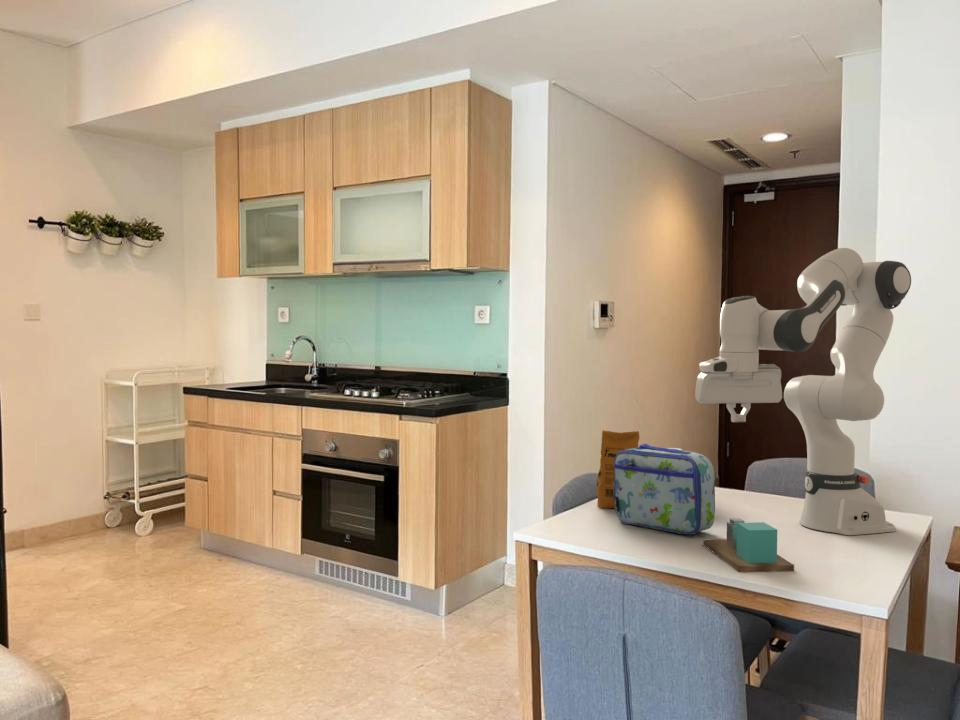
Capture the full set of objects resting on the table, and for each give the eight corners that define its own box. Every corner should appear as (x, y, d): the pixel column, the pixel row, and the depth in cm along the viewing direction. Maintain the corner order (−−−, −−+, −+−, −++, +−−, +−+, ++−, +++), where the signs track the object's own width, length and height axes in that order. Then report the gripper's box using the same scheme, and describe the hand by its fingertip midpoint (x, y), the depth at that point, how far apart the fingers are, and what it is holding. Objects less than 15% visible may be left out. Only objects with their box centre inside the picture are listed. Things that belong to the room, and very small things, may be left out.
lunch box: (607, 521, 197) (608, 443, 196) (631, 515, 204) (631, 439, 203) (695, 542, 178) (696, 455, 177) (718, 533, 185) (719, 450, 184)
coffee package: (597, 501, 221) (598, 427, 220) (640, 503, 218) (641, 429, 217) (595, 508, 211) (595, 432, 210) (639, 511, 208) (640, 433, 207)
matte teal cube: (763, 554, 164) (764, 522, 164) (776, 562, 158) (777, 529, 158) (736, 554, 164) (736, 522, 163) (748, 563, 158) (749, 530, 157)
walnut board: (752, 543, 176) (752, 538, 176) (794, 570, 156) (794, 565, 156) (703, 544, 175) (703, 539, 175) (738, 572, 156) (738, 566, 155)
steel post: (740, 543, 173) (741, 517, 172) (747, 547, 169) (747, 521, 169) (726, 543, 172) (726, 517, 172) (732, 547, 169) (732, 521, 169)
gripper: (774, 363, 180) (774, 419, 181) (692, 363, 179) (692, 420, 179) (787, 364, 174) (786, 423, 175) (702, 365, 172) (702, 424, 173)
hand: (738, 422), depth 177 cm, fingers closed
